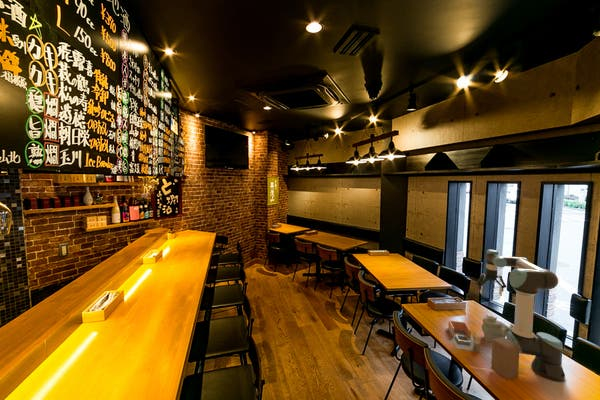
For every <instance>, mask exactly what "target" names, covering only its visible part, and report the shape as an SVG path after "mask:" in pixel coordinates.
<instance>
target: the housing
mask: <svg viewBox="0 0 600 400" xmlns="http://www.w3.org/2000/svg"><path fill="white" fill-rule="evenodd" d="M447 328H448V329H449V331H450V333H451V335H452V337H454V330H458V331H464V332H465V333H466V335H467V337H468V338H469V340H471V335H472V330H471V328H470V326H469V325H468V324H467V322H465V321H458V320H448V327H447Z"/></svg>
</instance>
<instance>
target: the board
mask: <svg viewBox="0 0 600 400" xmlns="http://www.w3.org/2000/svg"><path fill="white" fill-rule="evenodd" d="M446 330H447V332H448V334H449V336H450V338H451V340H452V342H453V344H454V346H455V348H456V349H458V350H464V351H465V350H466V351H472V352H476V353H477V352H478V353H483V351H482V349H481V348H480V351H477V350H474V349H473V343H474V335H473V334H471V340H470V342H471V345H468V344H461V343H458V342H457V340H456V338H455V334H457V335H463V336H467V335H466V333H465V332H464V331H458V330H454V337H452V335H451V333H450V331H449V329H448V327H446ZM468 339H469V338H468ZM459 340H464V341H467V340H466V339H462V338H459Z"/></svg>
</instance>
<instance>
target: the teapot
mask: <svg viewBox="0 0 600 400" xmlns="http://www.w3.org/2000/svg"><path fill="white" fill-rule="evenodd" d="M497 319H498V317H494V316H493V315H485V317H483V318H482V324H481V330H482V332H483V336H484V340H485V342H489V343H492V340H493V339H497V338H502V337H504V338H507V337H506V334H507V332H511V328H512V327H514V324H513V323H510V326H508V325H507V324H506V323H505V322H502V321H500V320H497Z"/></svg>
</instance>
